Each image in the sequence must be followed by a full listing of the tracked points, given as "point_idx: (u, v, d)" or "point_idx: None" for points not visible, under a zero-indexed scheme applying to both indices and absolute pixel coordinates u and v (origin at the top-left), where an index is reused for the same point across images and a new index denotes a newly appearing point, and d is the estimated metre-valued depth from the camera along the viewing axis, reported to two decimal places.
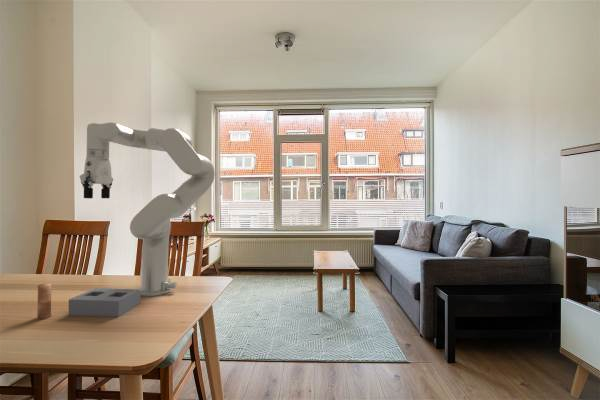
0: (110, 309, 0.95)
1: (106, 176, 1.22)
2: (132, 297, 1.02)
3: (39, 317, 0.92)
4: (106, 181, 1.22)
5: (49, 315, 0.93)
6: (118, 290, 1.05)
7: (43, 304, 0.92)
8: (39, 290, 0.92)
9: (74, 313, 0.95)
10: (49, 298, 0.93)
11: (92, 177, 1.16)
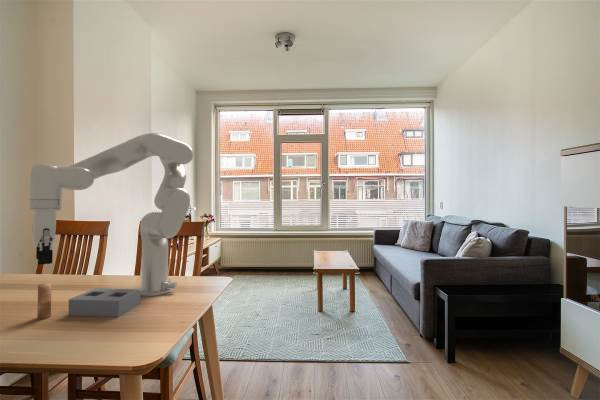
0: (110, 309, 0.95)
1: None
2: (132, 297, 1.02)
3: (39, 317, 0.92)
4: (32, 239, 0.90)
5: (49, 315, 0.93)
6: (118, 290, 1.05)
7: (43, 304, 0.92)
8: (39, 290, 0.92)
9: (74, 313, 0.95)
10: (49, 298, 0.93)
11: None
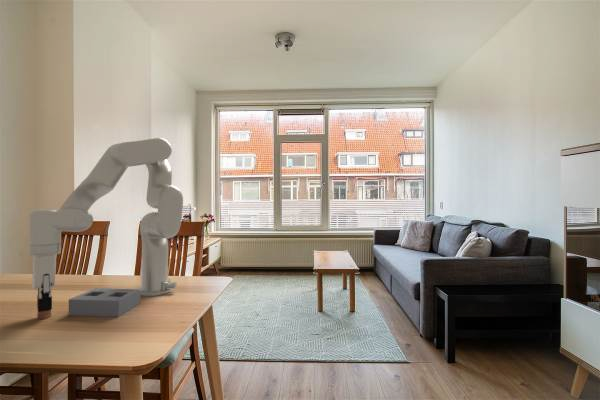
0: (110, 309, 0.95)
1: None
2: (132, 297, 1.02)
3: (39, 317, 0.92)
4: None
5: (49, 315, 0.93)
6: (118, 290, 1.05)
7: None
8: None
9: (74, 313, 0.95)
10: None
11: None
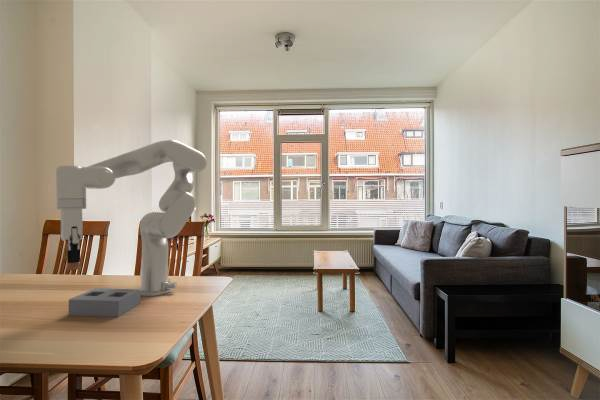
0: (110, 309, 0.95)
1: (61, 231, 0.94)
2: (132, 297, 1.02)
3: (68, 268, 0.96)
4: (61, 237, 0.94)
5: (78, 267, 0.97)
6: (118, 290, 1.05)
7: None
8: (67, 243, 0.96)
9: (74, 313, 0.95)
10: None
11: None
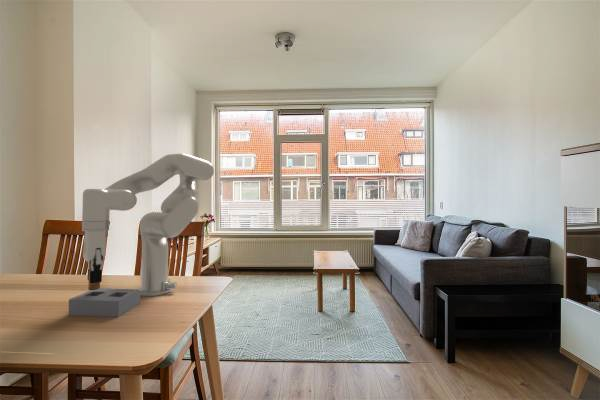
0: (110, 309, 0.95)
1: (85, 252, 0.98)
2: (132, 297, 1.02)
3: (90, 288, 0.99)
4: (85, 258, 0.98)
5: (99, 287, 1.01)
6: (118, 290, 1.05)
7: None
8: (90, 263, 0.99)
9: (74, 313, 0.95)
10: None
11: None
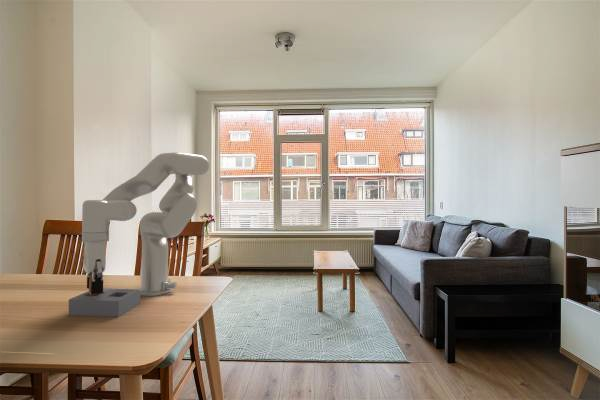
0: (110, 309, 0.95)
1: (85, 263, 0.98)
2: (132, 297, 1.02)
3: None
4: (85, 269, 0.98)
5: None
6: (118, 290, 1.05)
7: None
8: (91, 279, 0.99)
9: (74, 313, 0.95)
10: None
11: None
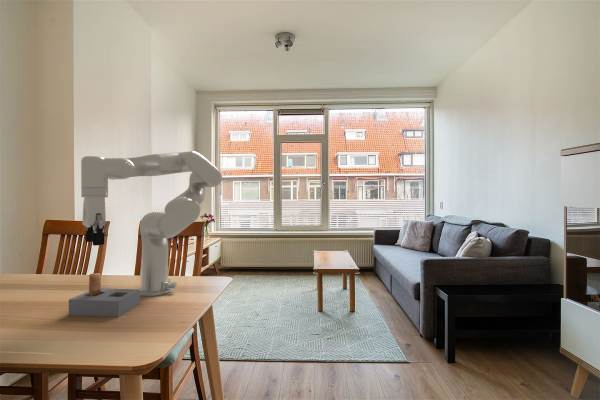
0: (110, 309, 0.95)
1: (85, 217, 1.00)
2: (132, 297, 1.02)
3: None
4: (85, 224, 1.00)
5: None
6: (118, 290, 1.05)
7: (94, 292, 0.99)
8: (91, 279, 0.99)
9: (74, 313, 0.95)
10: (99, 286, 1.01)
11: None
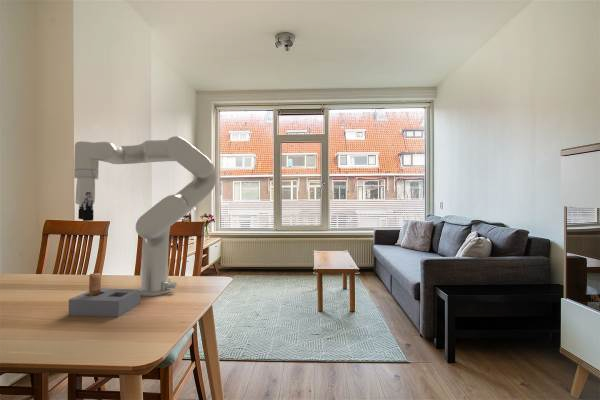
0: (110, 309, 0.95)
1: (77, 196, 1.12)
2: (132, 297, 1.02)
3: None
4: (77, 201, 1.12)
5: None
6: (118, 290, 1.05)
7: (94, 292, 0.99)
8: (91, 279, 0.99)
9: (74, 313, 0.95)
10: (99, 286, 1.01)
11: None
